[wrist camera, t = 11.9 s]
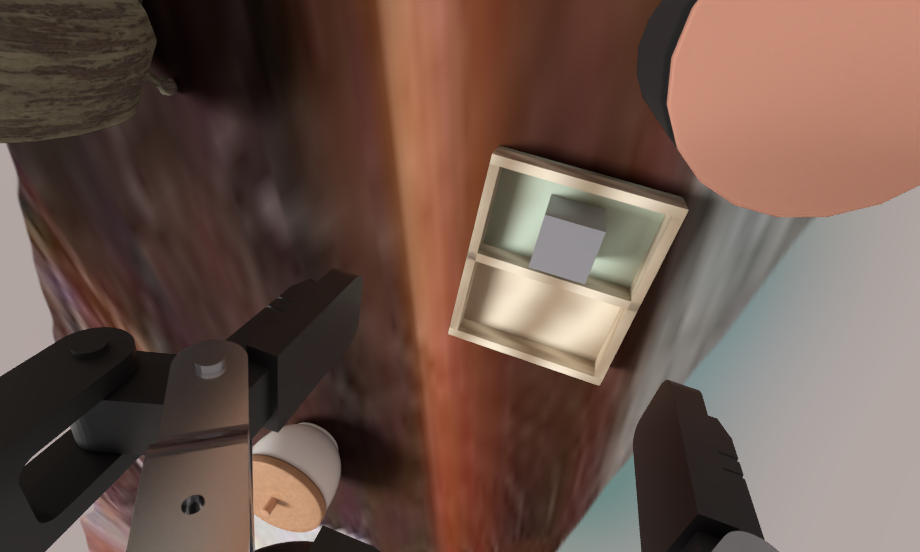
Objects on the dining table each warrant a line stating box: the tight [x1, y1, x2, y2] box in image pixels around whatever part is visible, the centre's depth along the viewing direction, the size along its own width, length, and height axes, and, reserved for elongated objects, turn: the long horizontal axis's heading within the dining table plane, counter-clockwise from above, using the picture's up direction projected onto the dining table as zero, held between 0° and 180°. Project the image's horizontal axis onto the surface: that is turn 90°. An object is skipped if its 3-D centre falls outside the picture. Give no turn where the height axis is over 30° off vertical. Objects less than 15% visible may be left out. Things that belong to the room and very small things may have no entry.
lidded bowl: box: [252, 422, 341, 532], centre depth 58 cm, size 13×13×11 cm
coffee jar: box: [637, 0, 920, 217], centre depth 23 cm, size 11×11×18 cm
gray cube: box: [529, 194, 606, 284], centre depth 36 cm, size 4×4×5 cm
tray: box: [448, 146, 689, 386], centre depth 40 cm, size 15×18×3 cm
